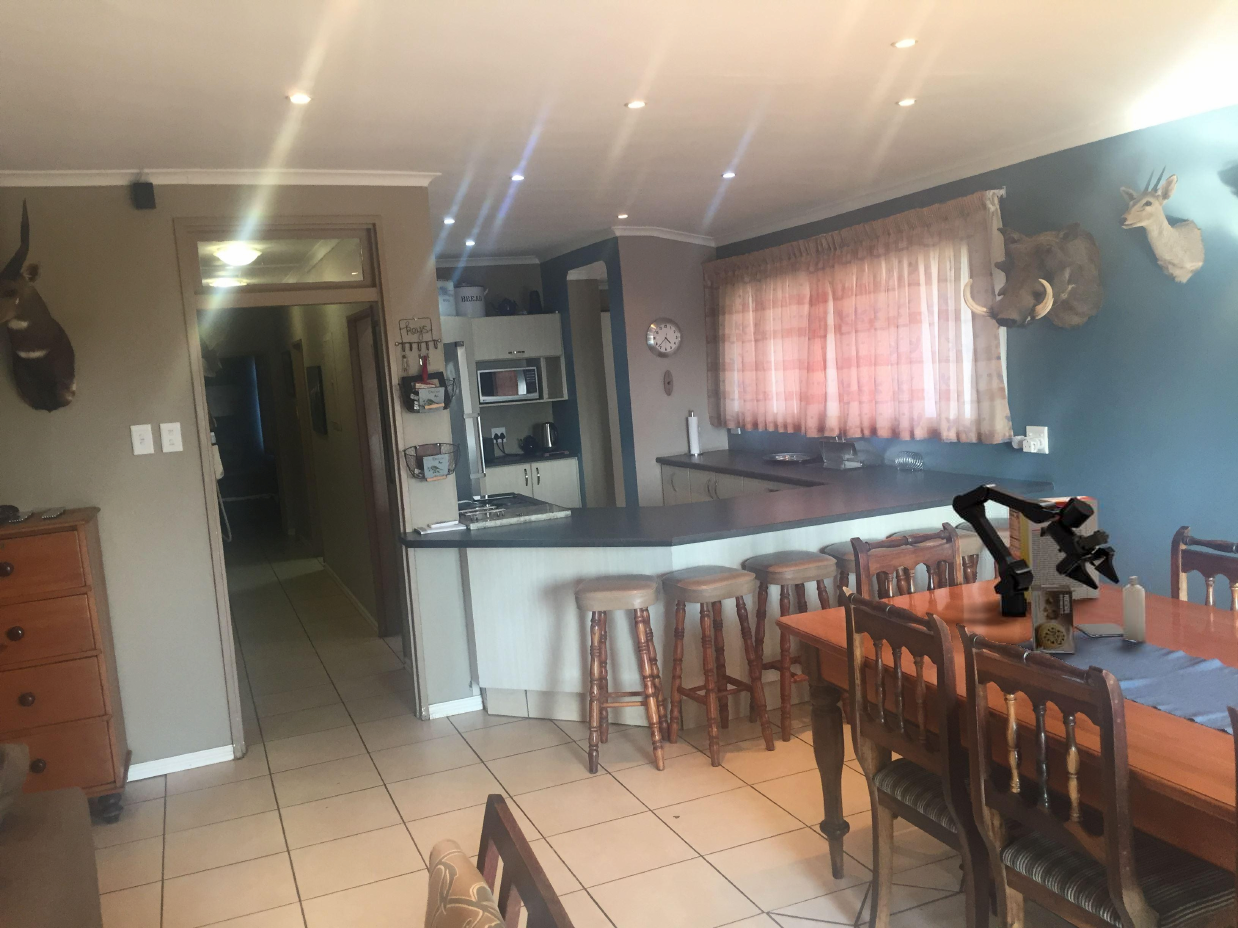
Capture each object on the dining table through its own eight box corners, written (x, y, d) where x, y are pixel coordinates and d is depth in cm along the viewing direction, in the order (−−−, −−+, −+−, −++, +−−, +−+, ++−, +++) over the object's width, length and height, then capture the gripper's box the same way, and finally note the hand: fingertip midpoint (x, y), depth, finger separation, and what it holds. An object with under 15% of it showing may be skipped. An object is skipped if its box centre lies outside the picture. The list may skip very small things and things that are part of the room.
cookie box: (1071, 646, 226) (1069, 584, 225) (1075, 654, 220) (1073, 590, 219) (1031, 645, 229) (1030, 583, 228) (1034, 653, 223) (1032, 589, 222)
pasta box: (1086, 591, 278) (1084, 496, 276) (1099, 598, 270) (1097, 499, 268) (1011, 596, 279) (1008, 500, 277) (1021, 602, 271) (1019, 504, 269)
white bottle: (1119, 639, 230) (1118, 577, 228) (1130, 635, 232) (1129, 574, 231) (1138, 643, 226) (1137, 579, 224) (1149, 639, 228) (1148, 576, 227)
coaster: (1091, 637, 233) (1091, 634, 233) (1075, 626, 243) (1075, 624, 243) (1131, 635, 232) (1131, 633, 232) (1113, 625, 242) (1113, 622, 242)
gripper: (1064, 525, 232) (1107, 573, 224) (1107, 515, 241) (1149, 561, 233) (1038, 551, 240) (1078, 598, 231) (1080, 541, 249) (1120, 586, 240)
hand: (1107, 585), depth 234 cm, fingers open, 9 cm apart
